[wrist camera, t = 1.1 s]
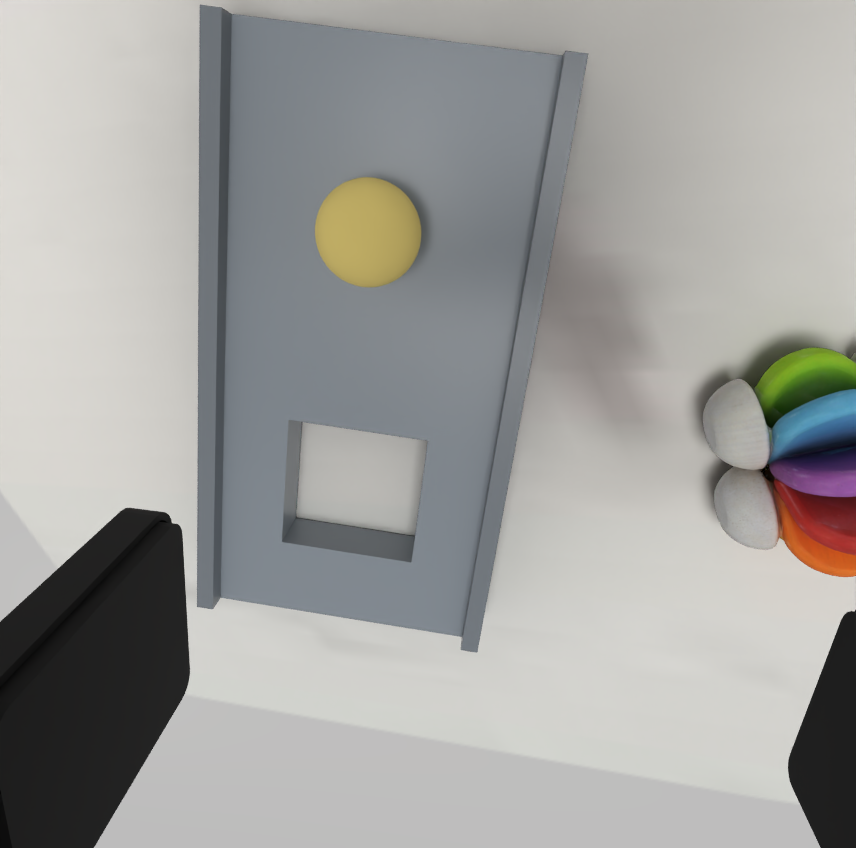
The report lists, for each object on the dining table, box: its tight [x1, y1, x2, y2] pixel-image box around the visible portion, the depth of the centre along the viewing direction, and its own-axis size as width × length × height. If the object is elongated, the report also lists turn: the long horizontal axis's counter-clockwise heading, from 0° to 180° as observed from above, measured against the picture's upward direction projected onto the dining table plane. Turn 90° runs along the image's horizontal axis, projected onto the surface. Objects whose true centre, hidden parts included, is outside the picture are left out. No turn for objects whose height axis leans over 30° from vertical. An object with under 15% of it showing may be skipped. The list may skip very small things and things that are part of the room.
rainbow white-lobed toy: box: [703, 348, 856, 577], centre depth 28 cm, size 8×10×7 cm
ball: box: [315, 177, 421, 287], centre depth 25 cm, size 4×4×4 cm
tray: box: [197, 5, 588, 652], centre depth 30 cm, size 26×14×4 cm, turn 173°
